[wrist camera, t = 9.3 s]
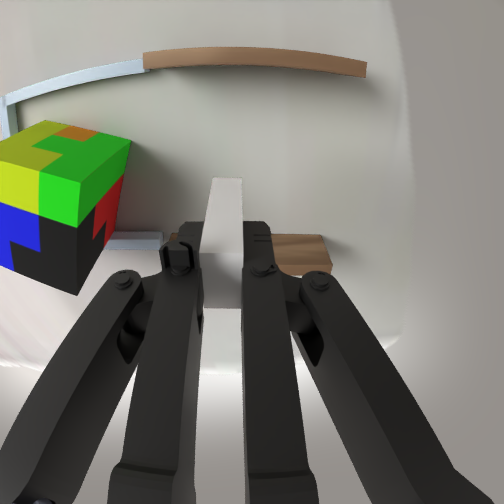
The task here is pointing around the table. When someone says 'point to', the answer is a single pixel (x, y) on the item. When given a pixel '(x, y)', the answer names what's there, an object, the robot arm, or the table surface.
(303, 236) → the channel
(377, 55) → the table surface
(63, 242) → the puzzle toy
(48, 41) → the table surface
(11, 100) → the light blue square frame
